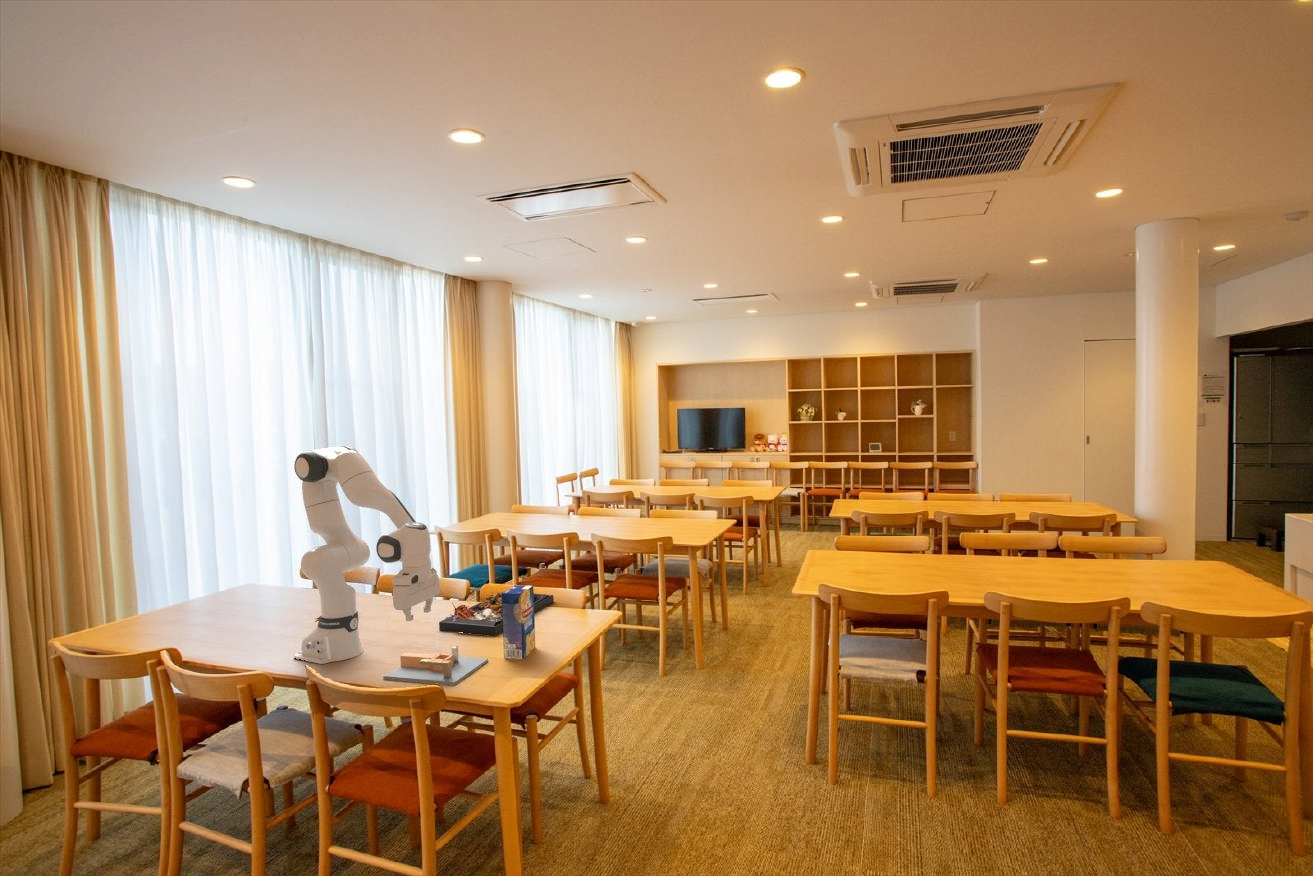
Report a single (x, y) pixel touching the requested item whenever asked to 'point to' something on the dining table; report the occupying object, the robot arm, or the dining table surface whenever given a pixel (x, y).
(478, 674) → the dining table surface
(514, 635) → the beverage box
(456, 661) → the peg
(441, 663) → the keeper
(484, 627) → the food platter
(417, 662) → the link
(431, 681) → the board
